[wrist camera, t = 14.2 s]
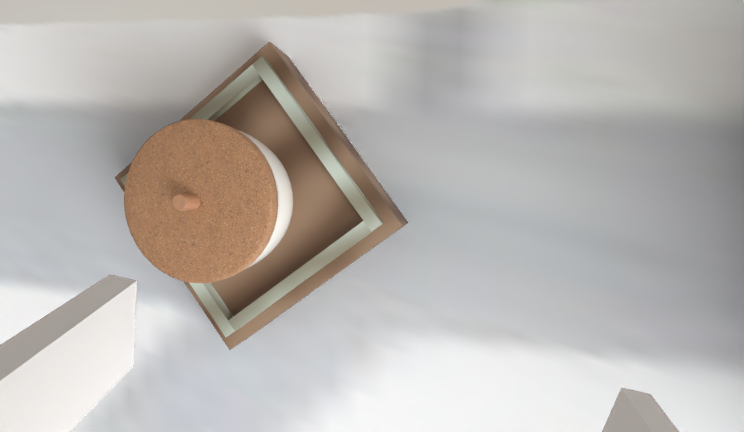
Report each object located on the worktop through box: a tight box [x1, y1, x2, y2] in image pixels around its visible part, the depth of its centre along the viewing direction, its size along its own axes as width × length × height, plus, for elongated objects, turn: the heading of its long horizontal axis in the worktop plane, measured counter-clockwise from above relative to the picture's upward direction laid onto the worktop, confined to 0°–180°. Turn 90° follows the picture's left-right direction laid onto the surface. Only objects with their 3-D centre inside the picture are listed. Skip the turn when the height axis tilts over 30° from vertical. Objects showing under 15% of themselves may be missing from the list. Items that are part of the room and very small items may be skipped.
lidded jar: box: [124, 119, 293, 283], centre depth 32 cm, size 11×11×9 cm
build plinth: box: [115, 42, 408, 350], centre depth 38 cm, size 18×18×5 cm
